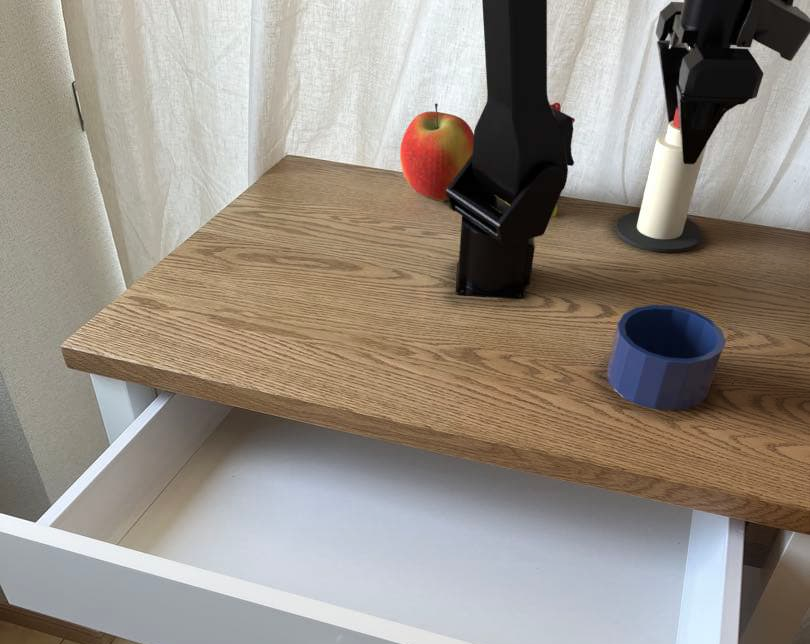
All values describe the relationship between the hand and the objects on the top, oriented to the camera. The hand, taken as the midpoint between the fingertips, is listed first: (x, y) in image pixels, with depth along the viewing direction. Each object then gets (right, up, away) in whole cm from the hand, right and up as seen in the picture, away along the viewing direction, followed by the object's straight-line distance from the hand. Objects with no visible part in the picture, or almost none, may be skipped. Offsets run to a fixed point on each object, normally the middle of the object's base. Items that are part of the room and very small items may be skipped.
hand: (681, 144), depth 82 cm
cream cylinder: (0, -6, +6) cm, 9 cm away
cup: (-6, -26, -13) cm, 30 cm away
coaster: (0, -6, +6) cm, 9 cm away
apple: (-24, -1, +12) cm, 26 cm away
